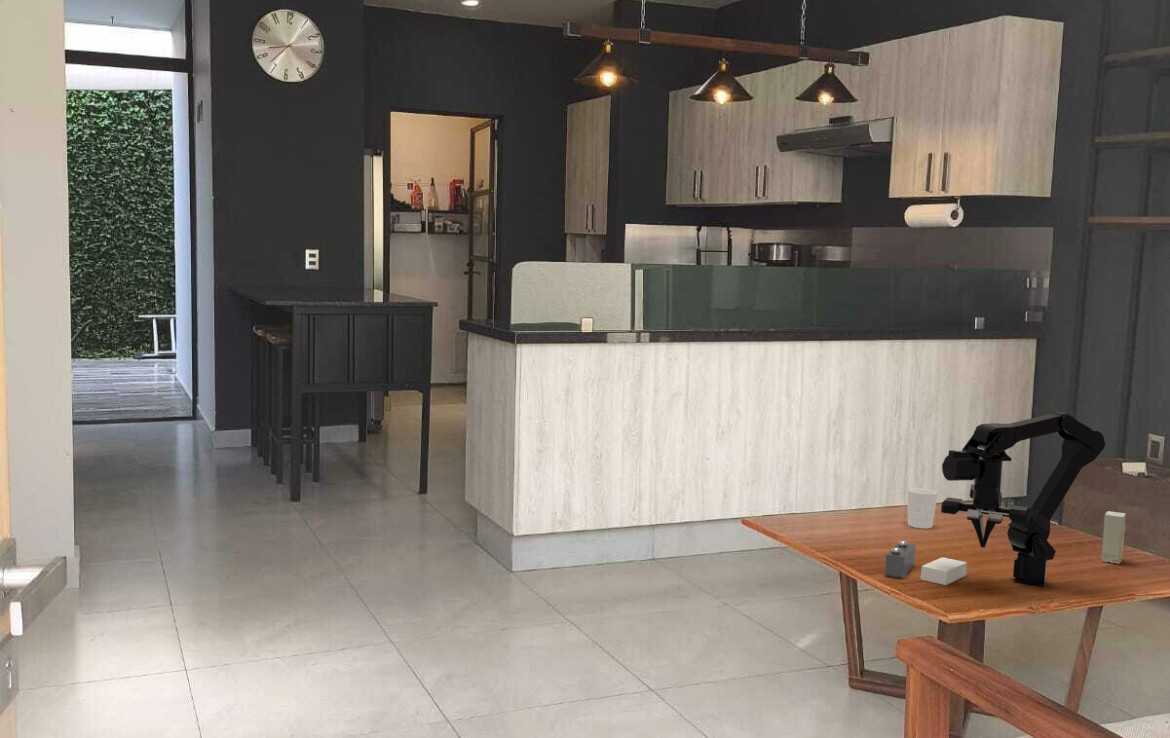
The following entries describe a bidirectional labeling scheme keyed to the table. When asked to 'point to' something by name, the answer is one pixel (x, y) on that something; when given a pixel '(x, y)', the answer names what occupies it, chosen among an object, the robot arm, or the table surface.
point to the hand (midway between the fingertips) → (983, 547)
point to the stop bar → (900, 560)
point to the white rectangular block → (943, 571)
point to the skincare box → (1113, 537)
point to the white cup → (921, 507)
